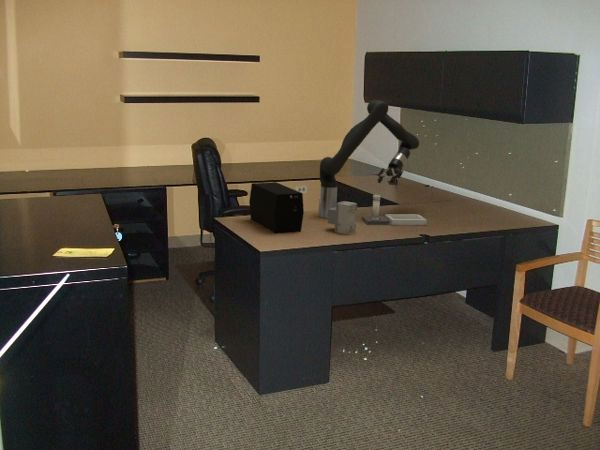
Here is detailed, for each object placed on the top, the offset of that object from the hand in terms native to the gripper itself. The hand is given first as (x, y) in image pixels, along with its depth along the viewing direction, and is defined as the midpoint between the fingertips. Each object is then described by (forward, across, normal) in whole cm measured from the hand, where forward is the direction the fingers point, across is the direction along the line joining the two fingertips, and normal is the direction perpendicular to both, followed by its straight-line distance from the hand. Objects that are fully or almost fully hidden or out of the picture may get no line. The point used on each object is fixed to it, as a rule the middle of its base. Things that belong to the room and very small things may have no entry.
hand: (384, 182), depth 370 cm
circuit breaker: (+46, +2, -9) cm, 47 cm away
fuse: (+22, +1, +9) cm, 24 cm away
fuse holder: (+22, +1, +9) cm, 24 cm away
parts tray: (+12, +12, +19) cm, 25 cm away
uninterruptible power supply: (+59, -25, -24) cm, 69 cm away
